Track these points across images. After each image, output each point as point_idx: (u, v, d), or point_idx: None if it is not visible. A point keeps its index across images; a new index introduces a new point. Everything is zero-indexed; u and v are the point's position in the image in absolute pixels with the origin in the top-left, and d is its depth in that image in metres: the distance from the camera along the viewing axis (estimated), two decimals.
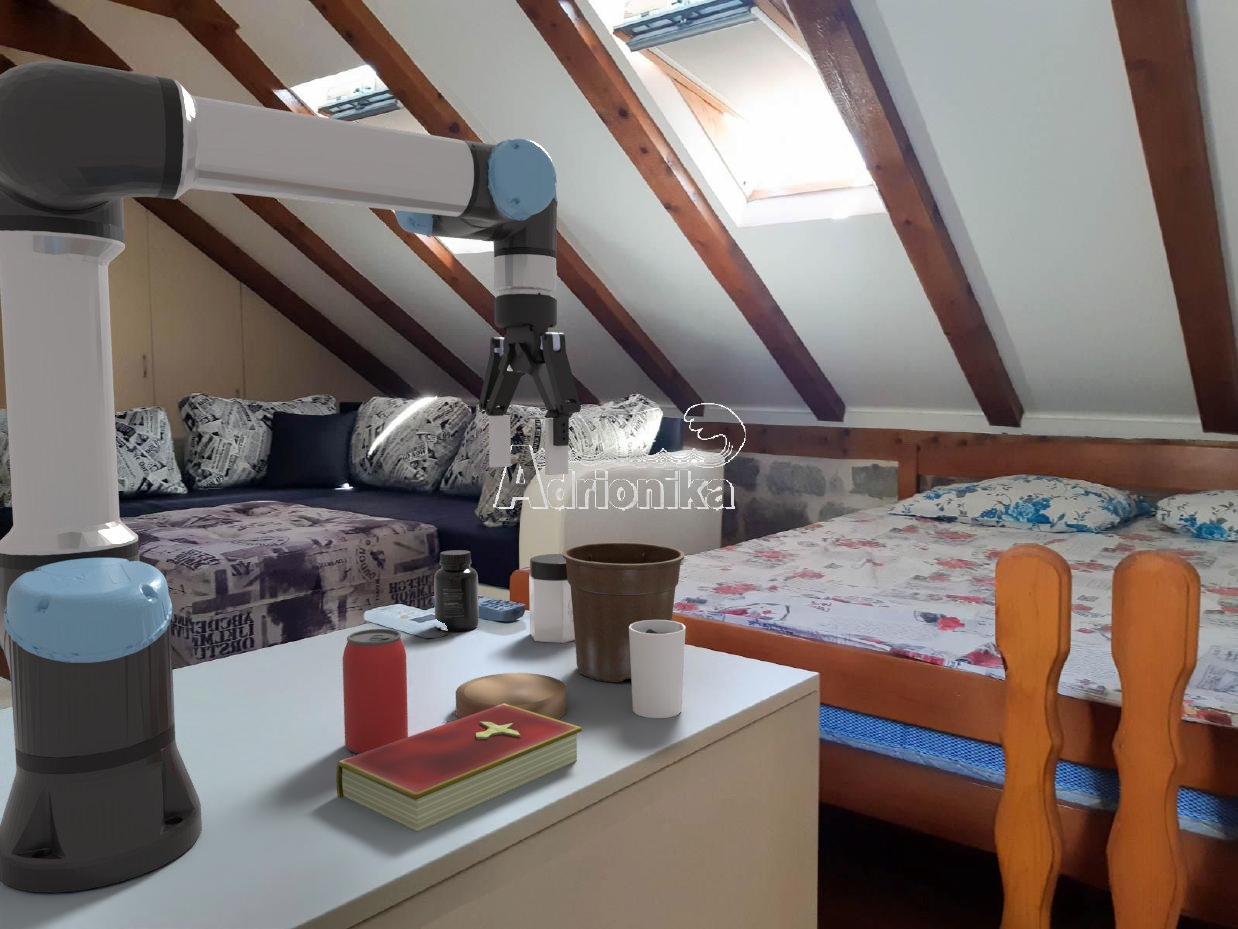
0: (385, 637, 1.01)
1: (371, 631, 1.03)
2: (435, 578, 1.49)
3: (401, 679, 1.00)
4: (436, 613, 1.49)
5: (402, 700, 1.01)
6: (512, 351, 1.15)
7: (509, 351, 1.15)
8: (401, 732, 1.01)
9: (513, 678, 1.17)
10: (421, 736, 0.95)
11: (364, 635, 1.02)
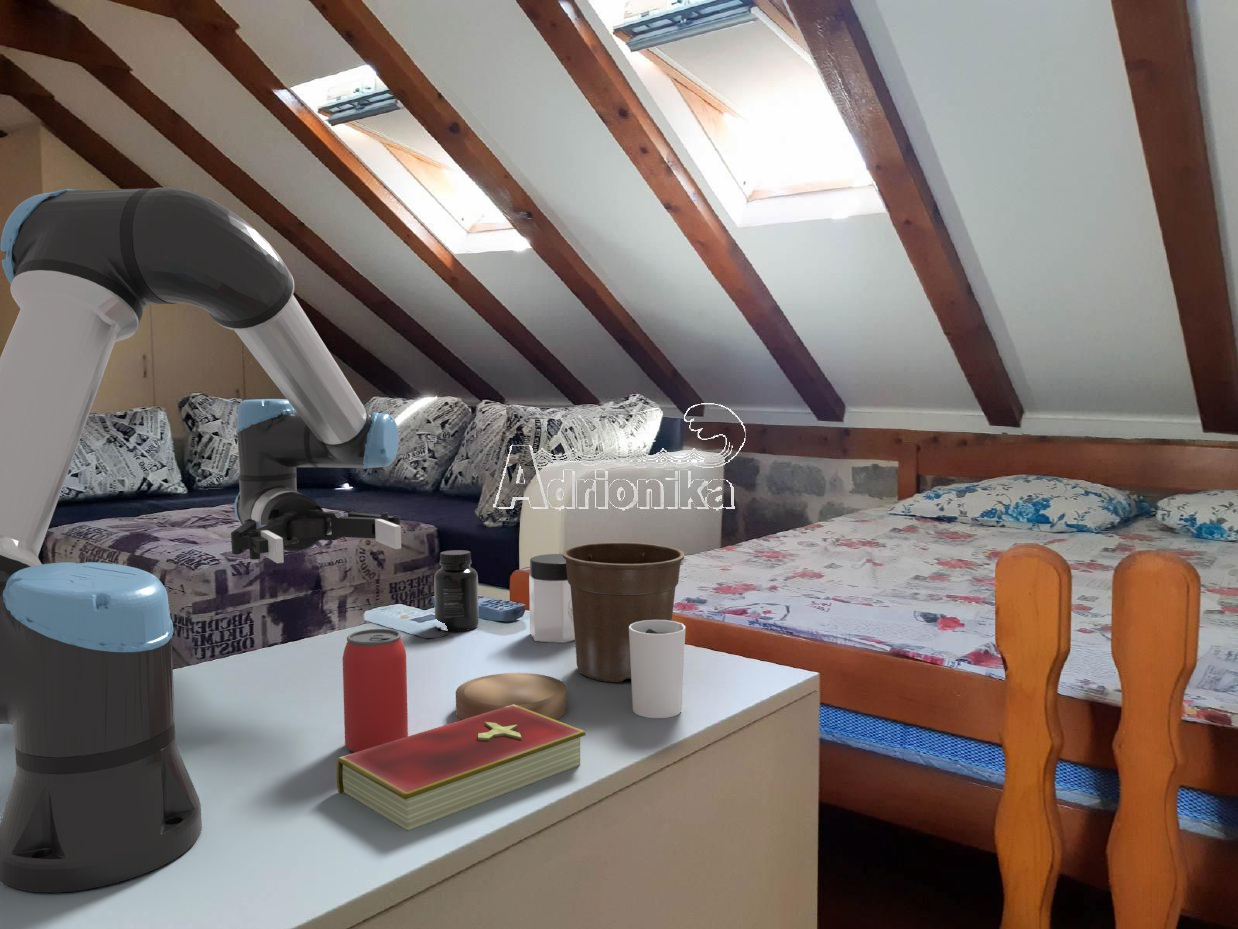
0: (385, 637, 1.01)
1: (370, 631, 1.03)
2: (435, 578, 1.49)
3: (401, 679, 1.00)
4: (436, 613, 1.49)
5: (402, 700, 1.01)
6: (296, 516, 1.20)
7: (296, 513, 1.20)
8: (401, 732, 1.01)
9: (513, 678, 1.17)
10: (425, 735, 0.96)
11: (364, 635, 1.02)
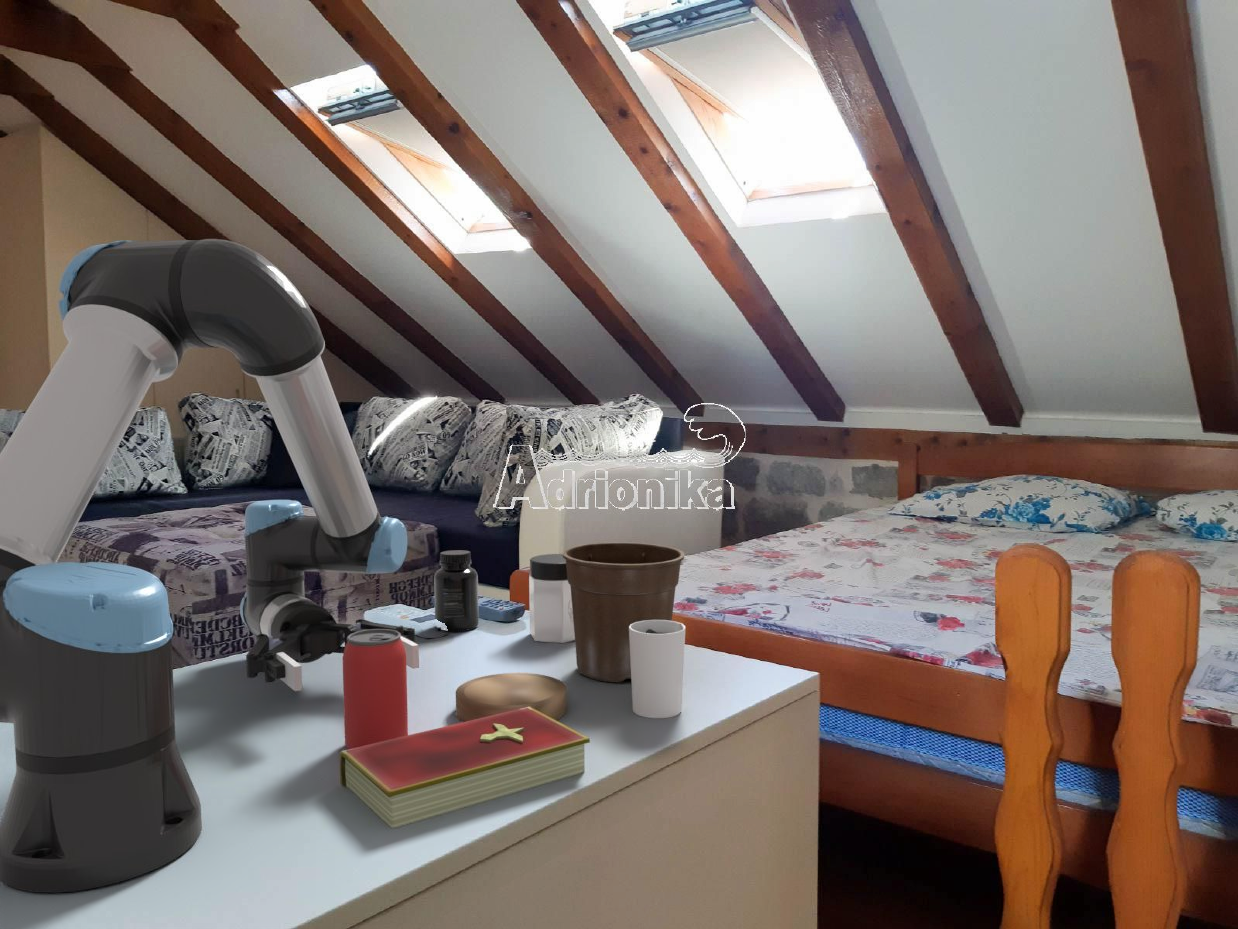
0: (385, 637, 1.01)
1: (370, 631, 1.03)
2: (435, 578, 1.49)
3: (401, 679, 1.00)
4: (436, 613, 1.49)
5: (402, 700, 1.01)
6: (309, 629, 1.18)
7: (309, 626, 1.18)
8: (401, 732, 1.01)
9: (513, 678, 1.17)
10: (431, 733, 0.96)
11: (364, 635, 1.02)
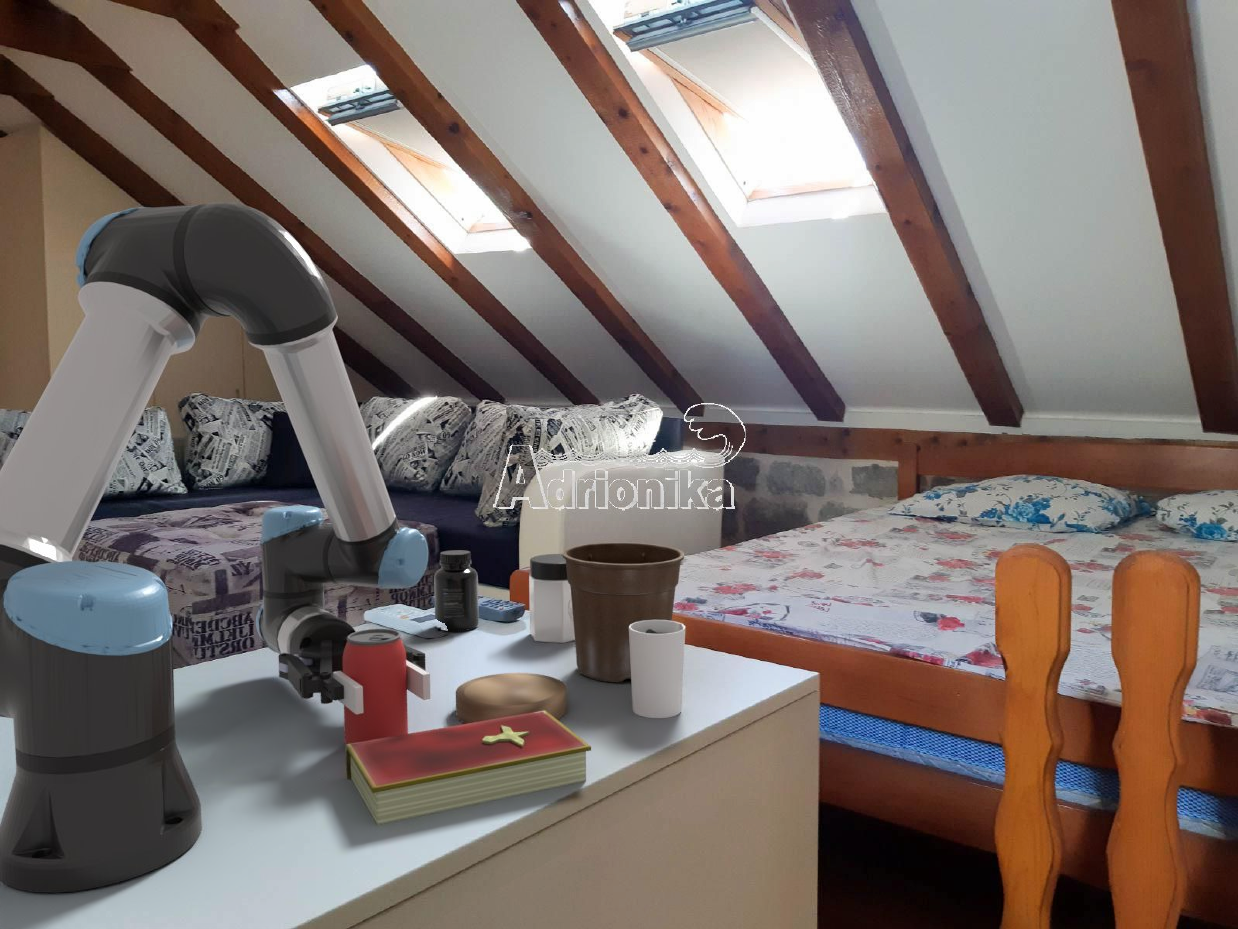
0: (385, 637, 1.01)
1: (370, 631, 1.03)
2: (435, 578, 1.49)
3: (401, 679, 1.00)
4: (436, 613, 1.49)
5: (402, 700, 1.01)
6: (331, 645, 1.10)
7: (331, 641, 1.10)
8: (401, 732, 1.01)
9: (513, 678, 1.17)
10: (438, 731, 0.97)
11: (364, 635, 1.02)
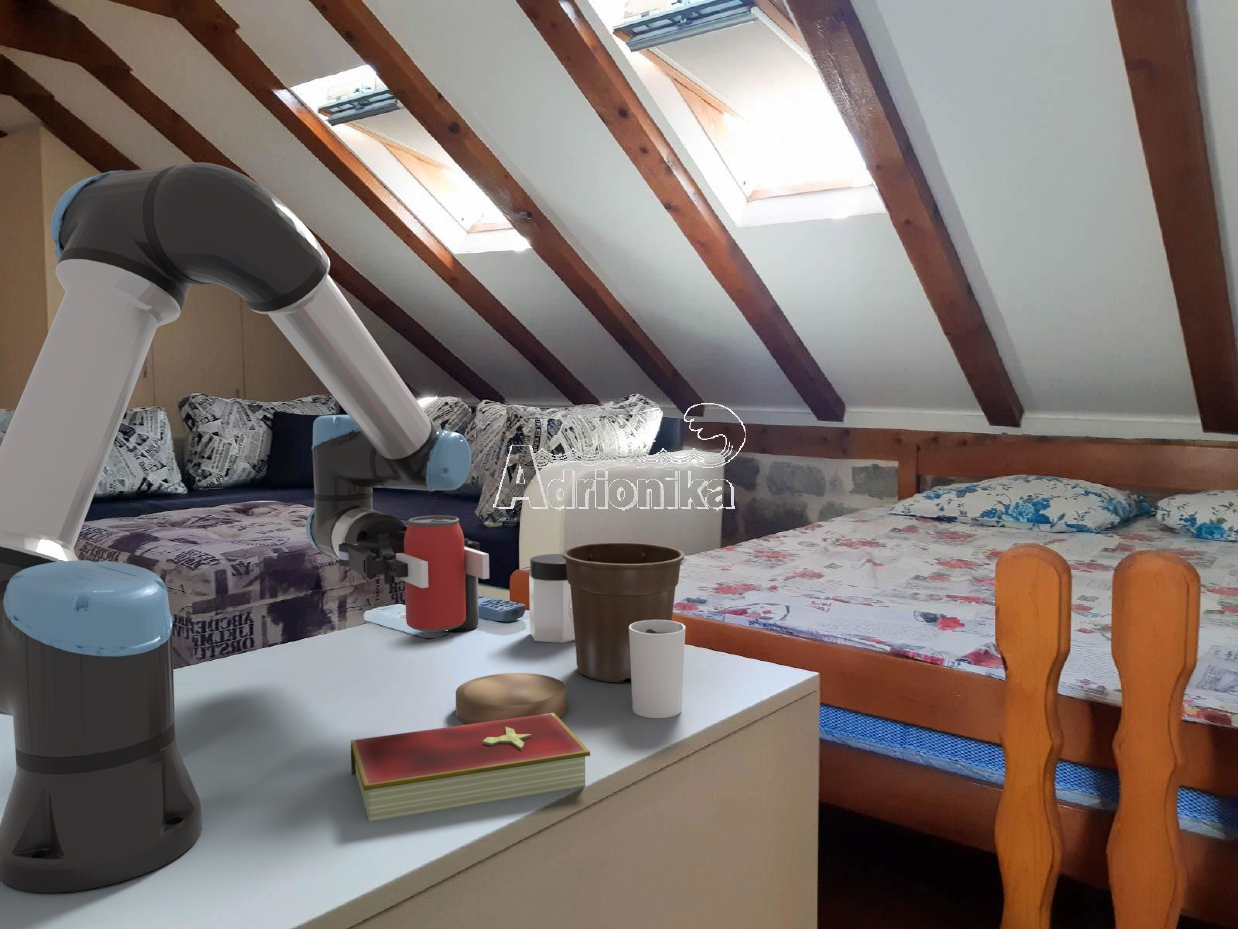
0: (444, 520, 1.05)
1: (429, 517, 1.08)
2: None
3: (460, 560, 1.05)
4: None
5: (461, 581, 1.05)
6: None
7: (387, 534, 1.15)
8: (460, 611, 1.05)
9: (513, 678, 1.17)
10: (443, 731, 0.97)
11: (423, 520, 1.07)
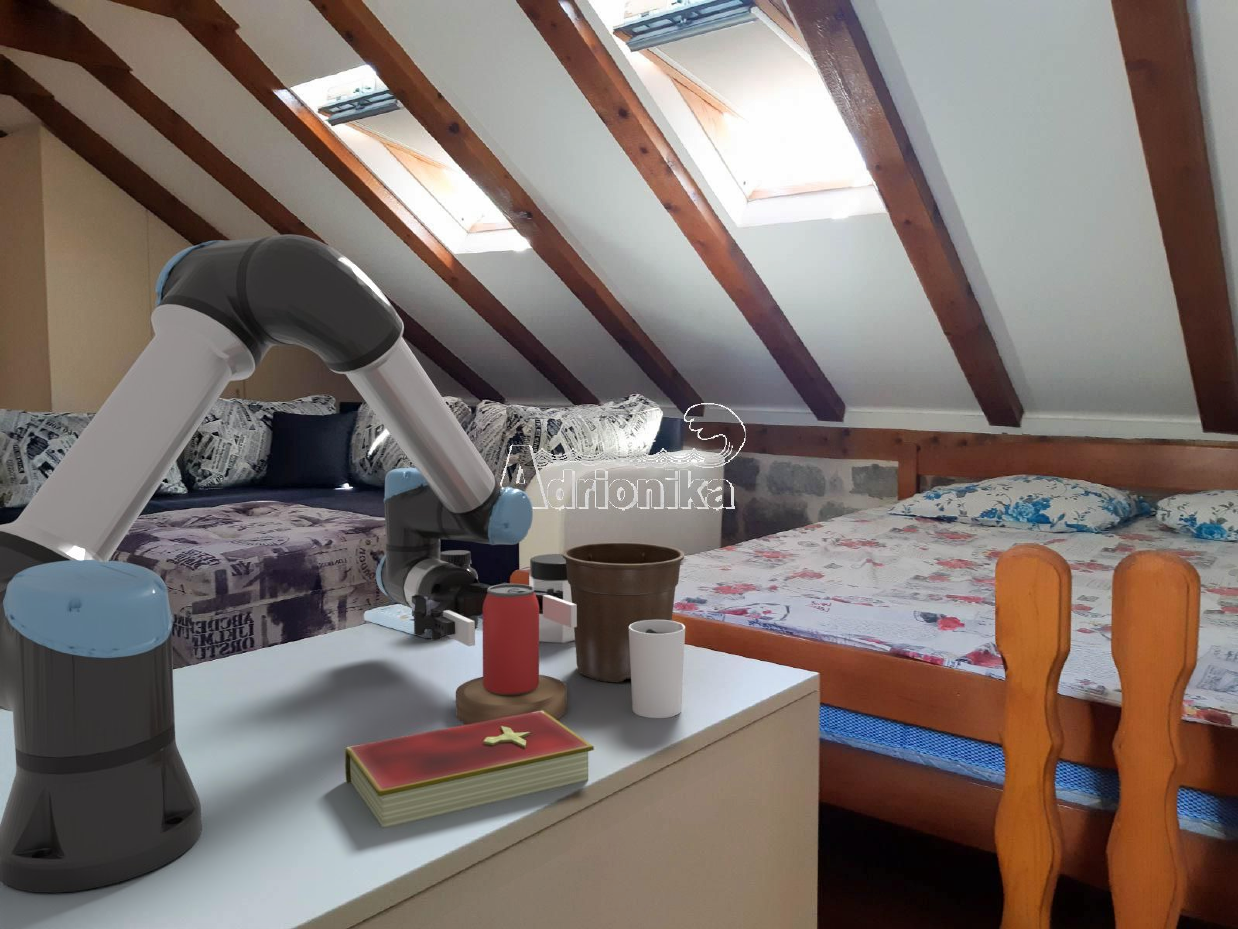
0: (521, 590, 1.11)
1: (505, 585, 1.14)
2: None
3: (536, 628, 1.11)
4: None
5: (536, 648, 1.11)
6: (461, 591, 1.20)
7: (461, 587, 1.20)
8: (535, 676, 1.11)
9: None
10: (438, 733, 0.96)
11: (500, 589, 1.13)
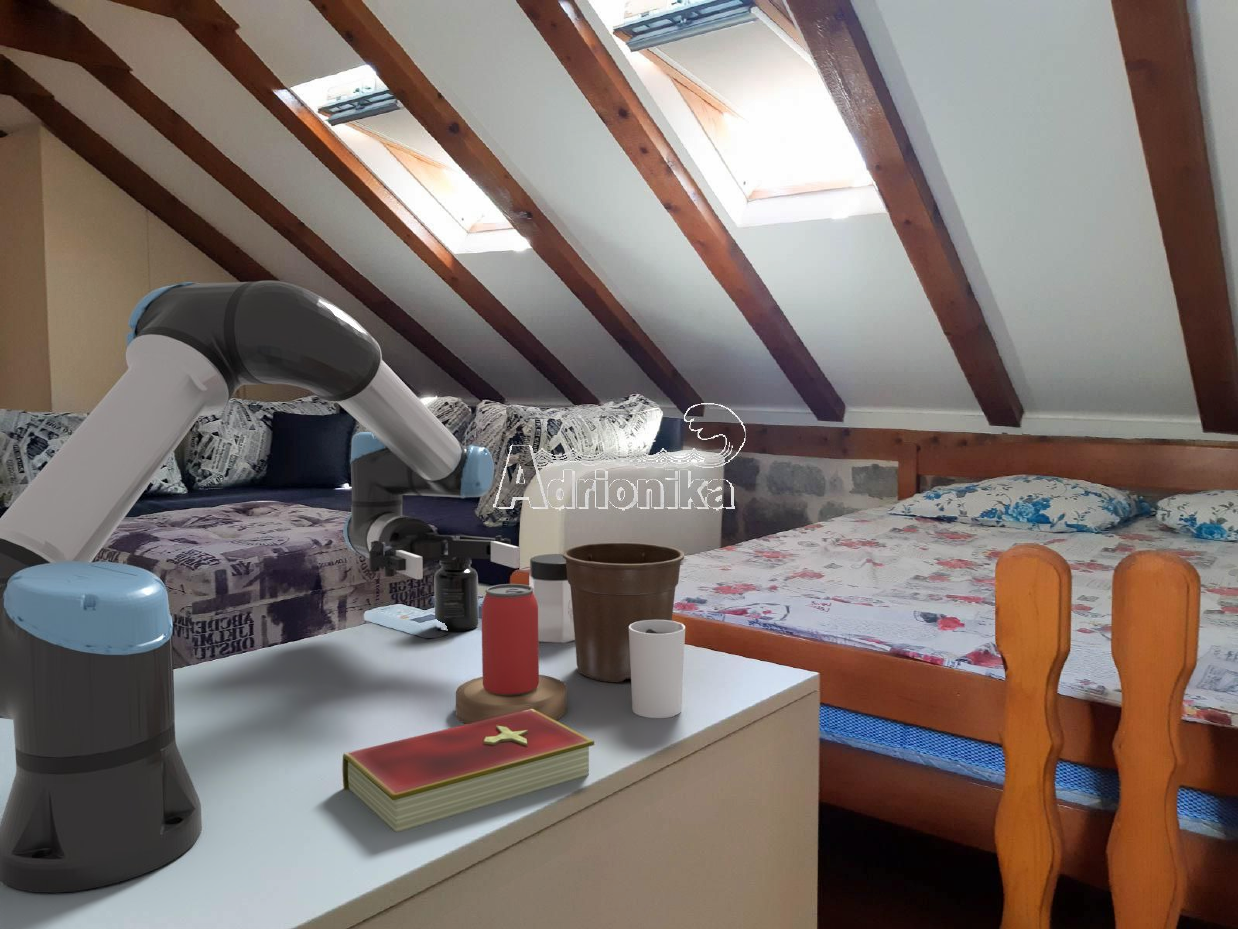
0: (520, 590, 1.11)
1: (503, 586, 1.14)
2: (435, 578, 1.49)
3: (535, 628, 1.11)
4: (436, 613, 1.49)
5: (536, 648, 1.11)
6: (416, 538, 1.32)
7: (416, 535, 1.32)
8: (535, 676, 1.11)
9: None
10: (434, 735, 0.95)
11: (499, 589, 1.13)
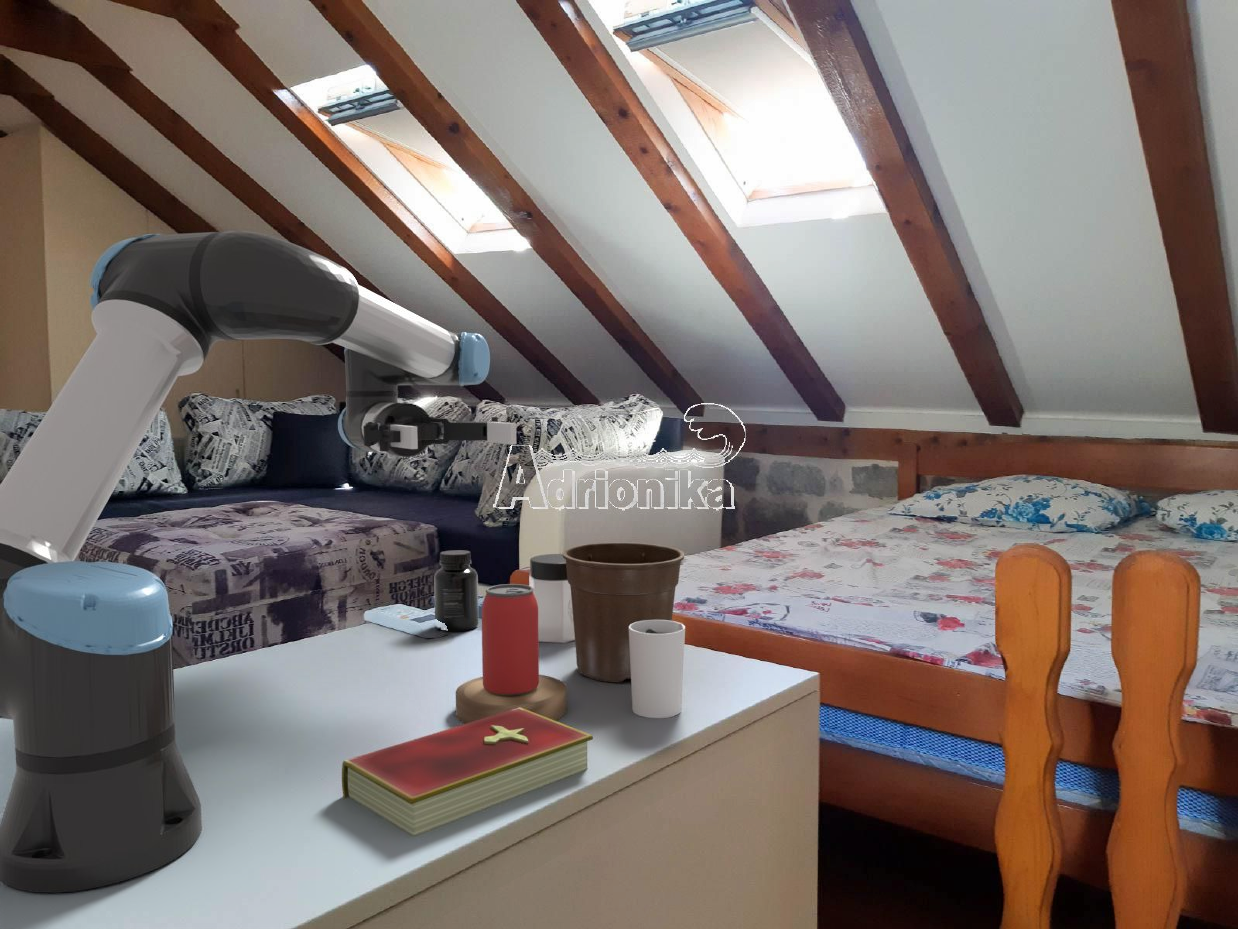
0: (520, 590, 1.11)
1: (504, 586, 1.14)
2: (435, 578, 1.49)
3: (535, 628, 1.11)
4: (436, 613, 1.49)
5: (536, 648, 1.11)
6: (412, 421, 1.30)
7: (412, 417, 1.30)
8: (535, 676, 1.11)
9: None
10: (430, 738, 0.95)
11: (499, 589, 1.13)
